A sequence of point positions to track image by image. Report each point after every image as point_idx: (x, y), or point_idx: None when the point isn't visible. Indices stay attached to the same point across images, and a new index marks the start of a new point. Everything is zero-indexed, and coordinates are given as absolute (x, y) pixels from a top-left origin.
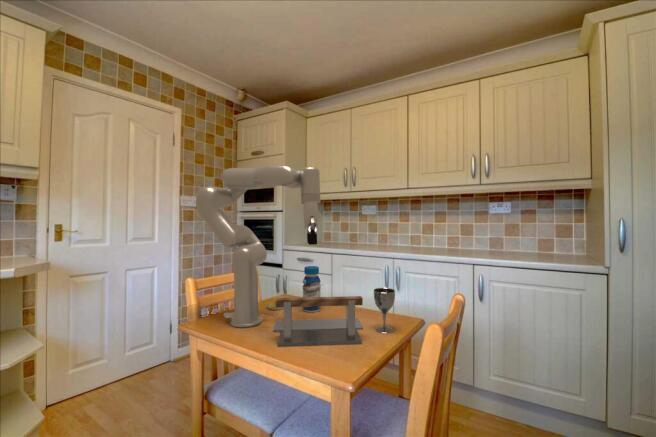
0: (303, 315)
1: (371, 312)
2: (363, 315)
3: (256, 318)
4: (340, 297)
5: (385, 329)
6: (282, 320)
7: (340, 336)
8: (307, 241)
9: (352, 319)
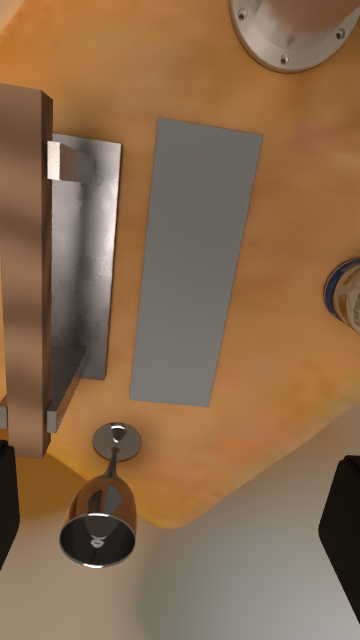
0: (303, 250)
1: (259, 453)
2: (240, 427)
3: (271, 36)
4: (27, 389)
5: (105, 444)
6: (256, 162)
7: (57, 327)
8: (358, 466)
9: None
